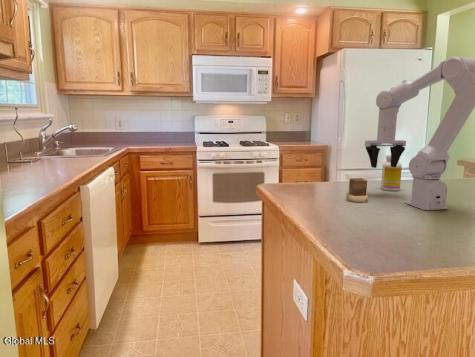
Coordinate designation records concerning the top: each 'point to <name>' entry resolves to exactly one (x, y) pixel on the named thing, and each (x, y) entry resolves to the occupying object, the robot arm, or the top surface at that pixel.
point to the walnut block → (358, 187)
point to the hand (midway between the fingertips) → (383, 167)
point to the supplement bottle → (391, 175)
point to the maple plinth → (356, 198)
